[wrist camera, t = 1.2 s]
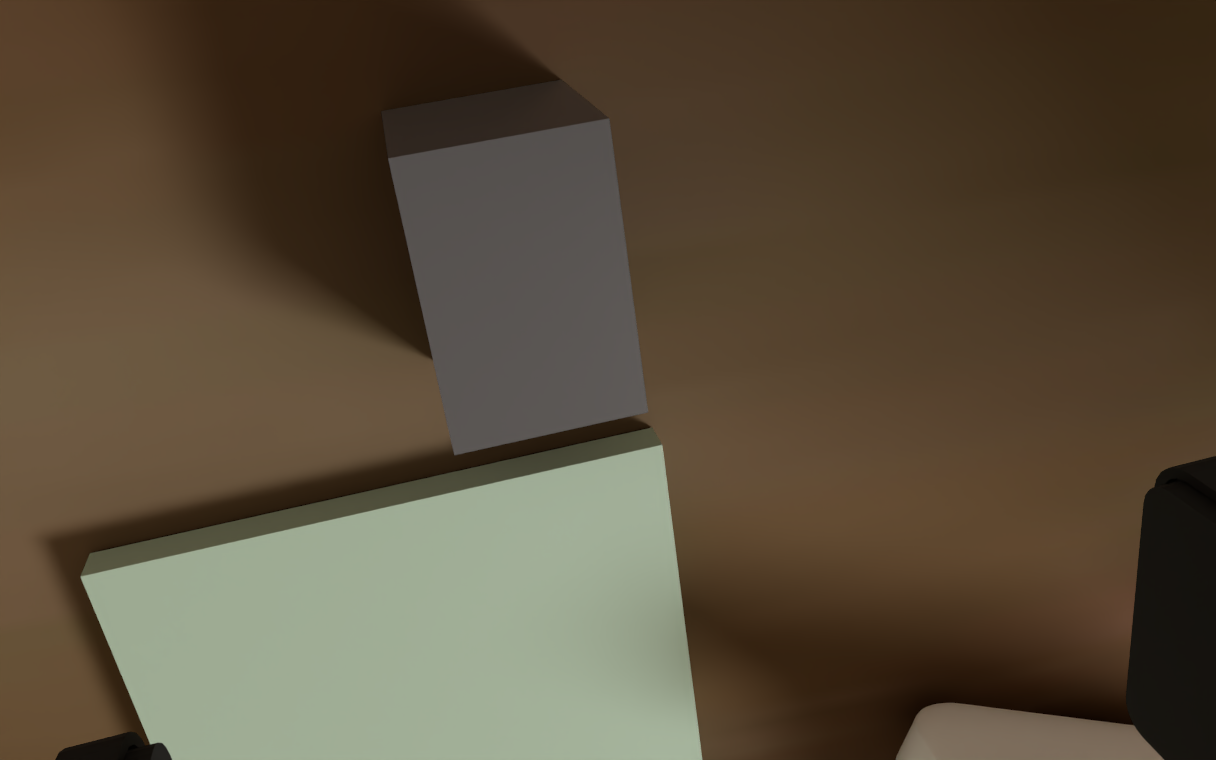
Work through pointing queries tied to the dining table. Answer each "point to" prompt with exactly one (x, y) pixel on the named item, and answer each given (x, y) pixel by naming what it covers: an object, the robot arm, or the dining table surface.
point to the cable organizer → (1017, 736)
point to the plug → (518, 261)
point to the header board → (419, 620)
